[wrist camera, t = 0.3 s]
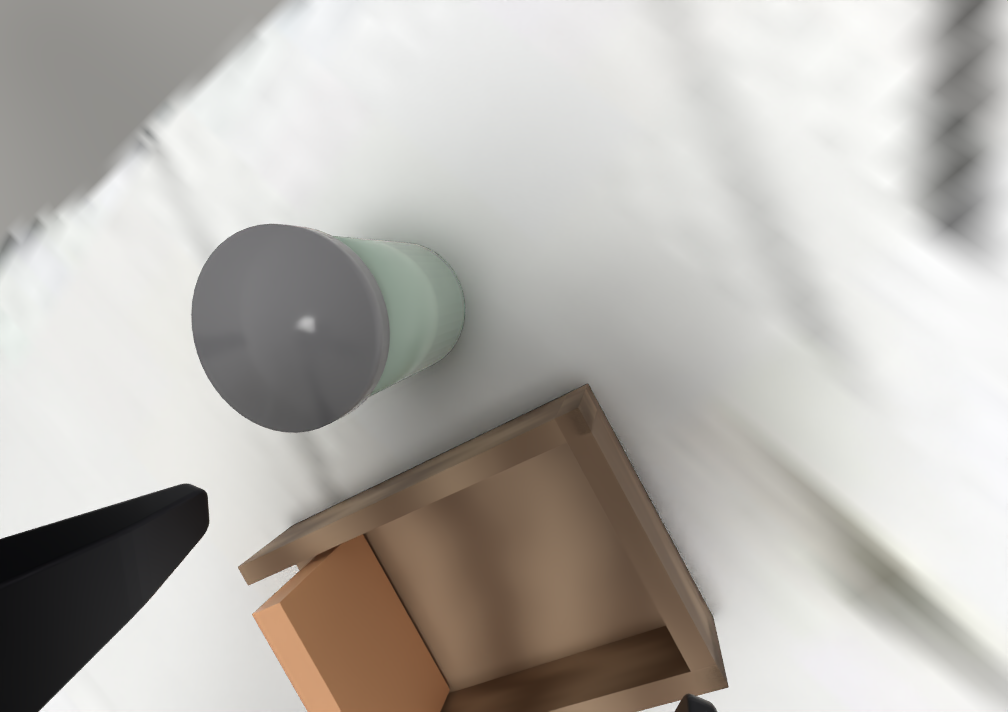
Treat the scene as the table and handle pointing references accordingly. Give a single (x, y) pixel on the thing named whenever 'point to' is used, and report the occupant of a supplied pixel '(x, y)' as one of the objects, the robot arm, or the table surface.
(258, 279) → the jar
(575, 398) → the brown wooden tray
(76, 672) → the robot arm
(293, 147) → the table surface
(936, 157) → the table surface
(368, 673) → the tan wooden beam
